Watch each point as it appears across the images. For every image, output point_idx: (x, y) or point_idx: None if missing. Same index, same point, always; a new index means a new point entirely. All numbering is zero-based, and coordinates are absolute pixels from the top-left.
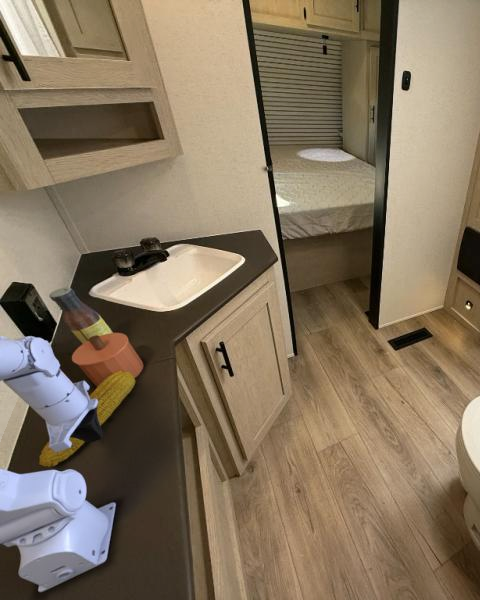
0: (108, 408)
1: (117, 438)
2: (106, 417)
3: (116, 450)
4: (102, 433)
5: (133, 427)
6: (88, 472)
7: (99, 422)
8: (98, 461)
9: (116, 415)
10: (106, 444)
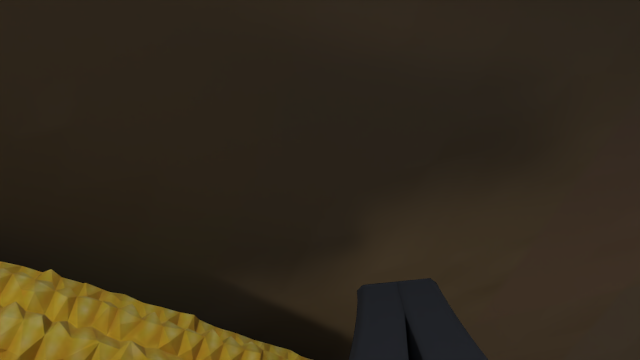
0: (4, 328)
1: (338, 150)
2: (94, 299)
3: (483, 124)
4: (374, 291)
5: (247, 37)
6: (592, 260)
7: (166, 339)
8: (525, 226)
9: (47, 224)
10: (370, 216)
